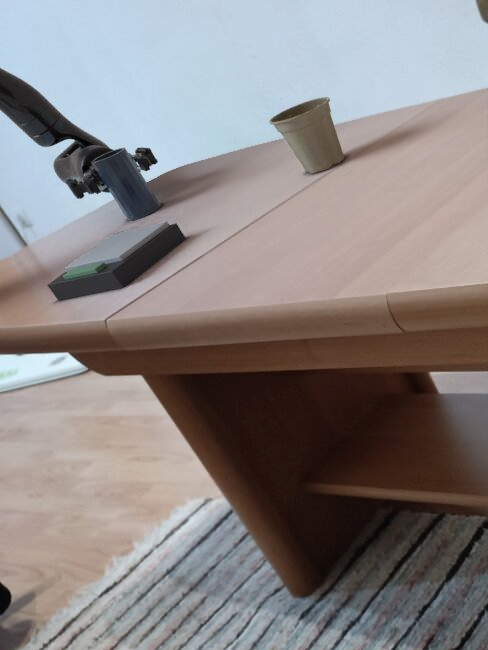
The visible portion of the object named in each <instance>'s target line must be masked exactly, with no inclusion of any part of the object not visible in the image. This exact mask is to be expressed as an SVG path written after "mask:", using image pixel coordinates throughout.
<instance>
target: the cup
mask: <svg viewBox="0 0 488 650" xmlns="http://www.w3.org/2000/svg"><path fill="white" fill-rule="evenodd" d="M129 153H130V152H128V150H127V149H126V147H119V148H116V149H113V151H111V152H108V153H106V154H103V155H101V156H99V157H97V158H96V159H94V160H93V161H91V163H92V165H93V166H94V168H95V170H96V171H97V173H98V174H99V176H100V177H101V179H102V180H103V182H104V183H105V185H106V186H107V188H108V190H109V191H110V193H109V194H111V196H112V197H113V199H114V200H115V202H116V203H117V205H118V207H119V208H120V209H121V211H122V212H123V214H124V216H125V217H126V218H127V221H131V222H132V221H136V220H139V219H143V218H145V217H147V216H149V215H150V214H152V213H155V212H156V211H158V210H159V209H160V208H161V205H162V204H160V202H159V200H158V199H157V196H156V195H155V194H154V192H153V191H152V189H151V188H150V186H149V184H148V182H147V181H146V179H145V177H144V176H143V174H142V173H141V172H140V171H139V170H138V168H137V166H136V165H135V163H134V162H133V160H132V158H131V157H130V155H129Z"/></svg>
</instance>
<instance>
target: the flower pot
mask: <svg viewBox="0 0 488 650" xmlns="http://www.w3.org/2000/svg"><path fill="white" fill-rule="evenodd" d="M330 101H331V99H330V97H328V96H323V97H322V96H321V97H317V98H314V99H310V100H307V101H304V102H301V103H299V104H296V105H294V106H291V107H289V108H286V109H285V110H282V111H281V112H279V113H276V115H273V117H271V118H270V119H269V121H268V122H269V124H270V125H272V126H274V128H275V129H276V131H277V132H278V133H280V134H281V136H282V137H283V139H284V140H285V142H286V144H287V145H288V146H289V148H290V149H291V151H292V152H293V154H294V156H295V157H296V158H297V160H298V161H299V163H300V164H301V166H302V168H303V169H304V171H305V172H306V173H310V174H316V173H318V172H321V171H322V172H323V171H325V170H328V169H330V168H331V167H332V165H337V164H340V163H341V162H343V160H344V159H345V155H344V152H343V149H342V146H341V142H340V139H339V137H338V133H337V129H336V127H335V124H334V120H333V117H332V114H331V112H332V110H331V106H330Z"/></svg>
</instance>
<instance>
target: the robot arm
mask: <svg viewBox="0 0 488 650" xmlns="http://www.w3.org/2000/svg"><path fill="white" fill-rule="evenodd" d="M0 111H1V113H3V115H5V116H6V117H7V118H8V119H9V120H11V122H13V124H15V125H16V126H17V127H18V128H19V129H20V130H21V131H22V132H23V133H25V135H27V136H28V138H30V139H31V140H32V141H33V143H35V144H37V145H38V146H40V147H41V148H50V147H53V146H56V145H58V144H60V143H61V142H64V141H67V140H73V142H72V143H71V144H70V145H69V146H67V147H66V148H65V149H64V150H63V151H62V152H61V153H59V154H58V155H57V156H56V158H54V161H53V163H52V166H53V171H54V173H55V174H56V176H57V177H58V178H59V179H60V181H61V182H62V183H64V184H65V185H67V187H68V188H69V190H70V192H71V193H72V194H73V196H74V197H75V198H76V199H77V200H81V199H84V197H85V193H87V194H88V195H94V194H96V195H98V194H101V193H107V194H111V193H110V191H109V190H108V188H107V186H106V185H105V183H104V182H103V180H102V179H101V177H100V176H99V174H98V173H97V171H96V170H95V168H94V166H93V165H92V163H91V161H93V160H94V159H96V158H97V157H99V156H101V155H103V154H106V153H108V152H111V151H113V150H114V149H113V148H110V146H109V145H107V143H105V142H104V141H103V140H101V139H99V138H97V137H96V136H94V135H93V134H91V133H89V132H87V131H86V130H84V129H82V128H81V127H79V126H77V124H74V123H73V122H72V121H71V120H69V119H68V118H67V117H66V116H65V115H64V114H62V112H60V111H59V109H58V108H57V107H56V106H55V105H53V104H52V103H51V102H50V101H49V100H48V99H47V98H46V97H45V95H43V93H41V92H40V91H38V90H37V88H35V87H33V85H31V84H29V83H28V82H26V81H25V80H23V79H22V78H20V77H19V76H17V75H14V74H13V73H11V72H9V71H7V70H5V69H3V68H2V67H0ZM128 153H129V155H130V157H131V158H132V160H133V162H134V163H135V165H136V166H137V168H138V170H139V171H140V173H141V172H142V171H144V172H148V171H150V170H151V167H152V166H153V165H154V166H155V165H157V164H158V163H159V160H158V158H156V157H155V155H154V153H153V151H152V149H151V148H150V147H142V146H141V147H137V148H136V149H135V151H134V154H131V153H130V152H128Z"/></svg>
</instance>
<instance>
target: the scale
mask: <svg viewBox="0 0 488 650" xmlns="http://www.w3.org/2000/svg"><path fill="white" fill-rule="evenodd" d="M186 239H187V238H186V236H185V235H184V233H183V231H182V229H181V228H180V227H179V225H178V224H177V223H176V222H175V223H171V224H169V221H162V222H158V223H153V224H149V225H146V226H141V227H136V228H132V229H128V230H124V231H119V232H115V233H112V234H111V235H109V236H107V238H105V239H104V240H102V241H101V242H100V243H98V244H97V245H95V246H94V247H92V248H90V249H89V250H88V251H86V252H85V253H83V254H82V255H81V256H79V257H78V258H76V259H75V260H74V261H72V262H71V263H69V264H68V265H66V266H65V267H64V268H63V269H64V271H65V272H63V273H62V274H61V275H59V276H58V277H56V278H55V279H53V280H52V281H51V282H49V283H48V284H46V286H47V287H48V289H49V290H50V291H51V292H52V294H53V296H54V297H55V298H56V299H57V301H63V300H69V299H73V298H78V297H83V296H88V295H92V294H99V293H103V292H108V291H113V290H118V289H122V288H124V287H126V286H127V285H129V284H130V283H131V282H133V281H134V280H135V279H136V278H138V277H139V276H141V274H143V273H144V272H145V271H147V270H148V269H149V268H150V267H152V266H153V265H155V263H157V262H158V261H159V260H160V259H162V258H163V257H164V256H166V255H167V254H168V253H170V252H172V250H173V249H175V248H176V247H177V246H178V245H180V244H181V243H182V242H184V241H185V240H186Z"/></svg>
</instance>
